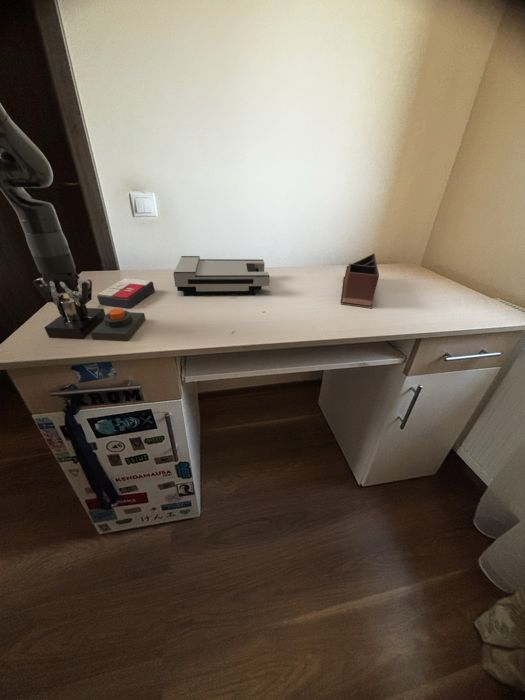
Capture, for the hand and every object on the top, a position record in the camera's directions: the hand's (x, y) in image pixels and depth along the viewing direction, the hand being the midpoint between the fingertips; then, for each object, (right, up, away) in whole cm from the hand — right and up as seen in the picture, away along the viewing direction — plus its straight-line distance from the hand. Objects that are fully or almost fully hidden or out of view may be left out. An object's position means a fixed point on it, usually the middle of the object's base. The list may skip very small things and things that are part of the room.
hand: (75, 316), depth 75 cm
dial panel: (0, -3, +2) cm, 3 cm away
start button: (+12, 0, 0) cm, 11 cm away
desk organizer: (+86, +13, +32) cm, 92 cm away
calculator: (+5, +8, +19) cm, 22 cm away
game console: (+35, +15, +32) cm, 50 cm away
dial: (0, 0, 0) cm, 0 cm away
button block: (+11, -3, +2) cm, 12 cm away
